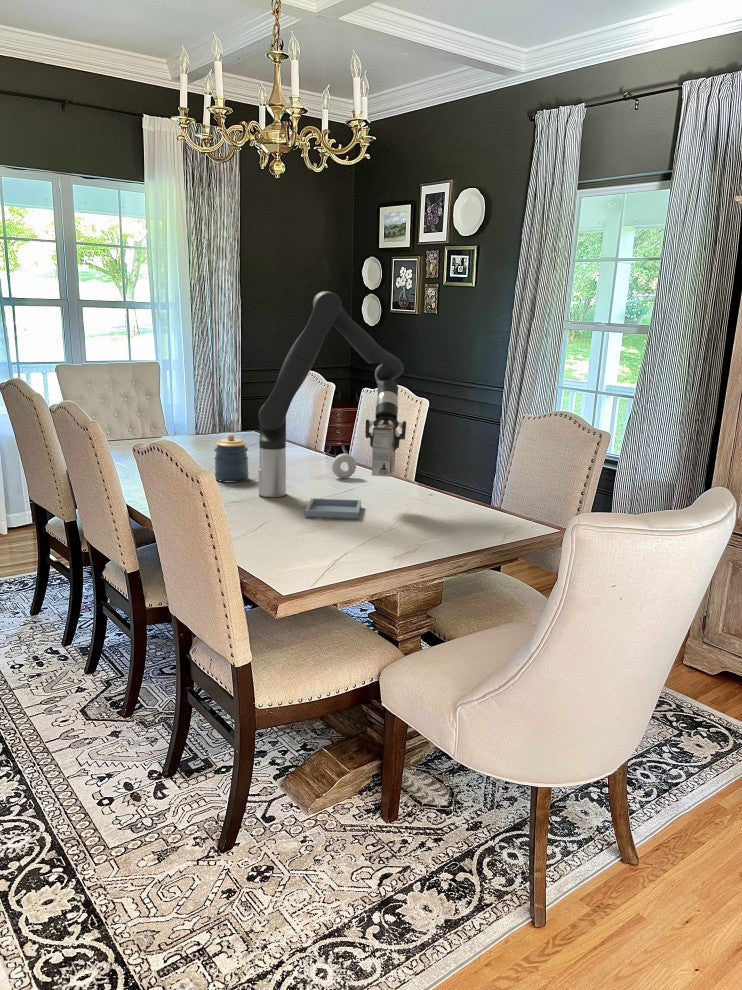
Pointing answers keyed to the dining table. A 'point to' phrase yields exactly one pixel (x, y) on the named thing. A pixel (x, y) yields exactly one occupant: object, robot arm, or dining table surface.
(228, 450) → the canister
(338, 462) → the donut
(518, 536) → the dining table surface
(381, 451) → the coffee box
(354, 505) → the tray
